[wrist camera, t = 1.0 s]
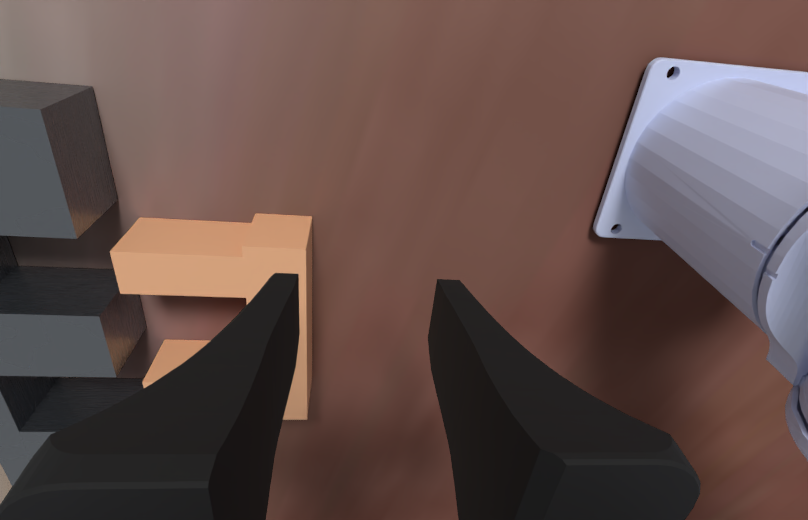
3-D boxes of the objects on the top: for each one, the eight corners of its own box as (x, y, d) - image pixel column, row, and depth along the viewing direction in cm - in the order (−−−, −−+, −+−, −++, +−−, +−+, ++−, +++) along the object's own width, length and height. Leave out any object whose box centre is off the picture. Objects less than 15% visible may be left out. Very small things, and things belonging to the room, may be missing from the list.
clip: (312, 216, 22) (306, 249, 19) (312, 376, 27) (307, 419, 24) (137, 207, 21) (106, 240, 18) (171, 374, 26) (151, 418, 23)
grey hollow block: (92, 86, 18) (40, 109, 15) (171, 436, 28) (148, 491, 25) (-98, 71, 17) (-193, 92, 14) (52, 436, 28) (15, 493, 25)
